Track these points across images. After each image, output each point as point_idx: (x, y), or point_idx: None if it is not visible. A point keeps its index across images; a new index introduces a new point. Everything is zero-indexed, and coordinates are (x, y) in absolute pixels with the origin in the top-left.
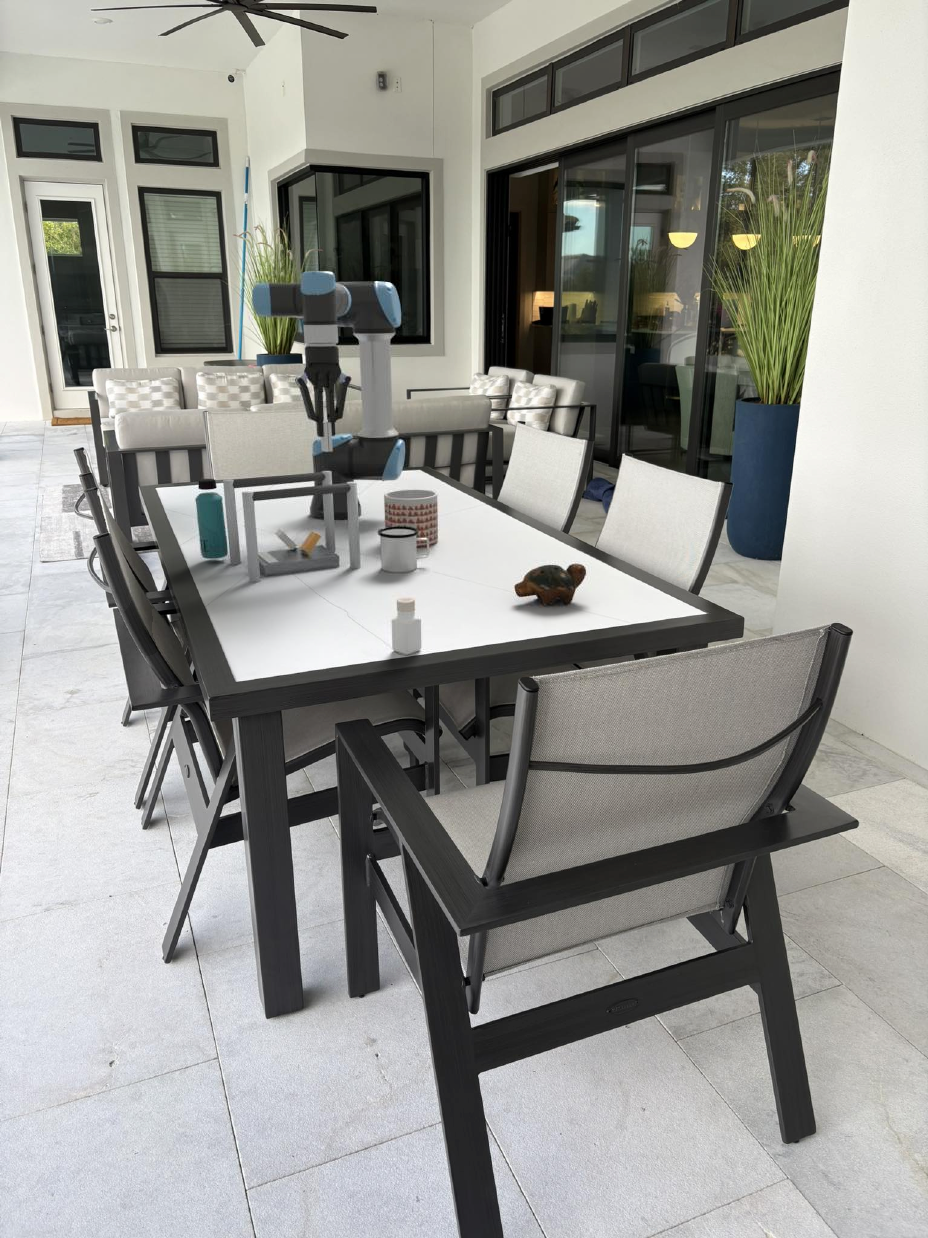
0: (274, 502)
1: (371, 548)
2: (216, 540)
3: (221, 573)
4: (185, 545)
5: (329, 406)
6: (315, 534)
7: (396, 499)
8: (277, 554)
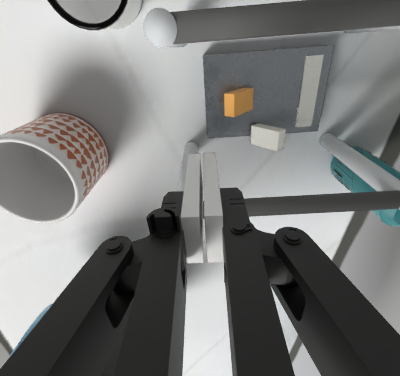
0: (193, 340)
1: (133, 139)
2: (366, 156)
3: (367, 94)
4: (336, 237)
5: (175, 305)
6: (235, 94)
7: (58, 156)
8: (285, 110)
